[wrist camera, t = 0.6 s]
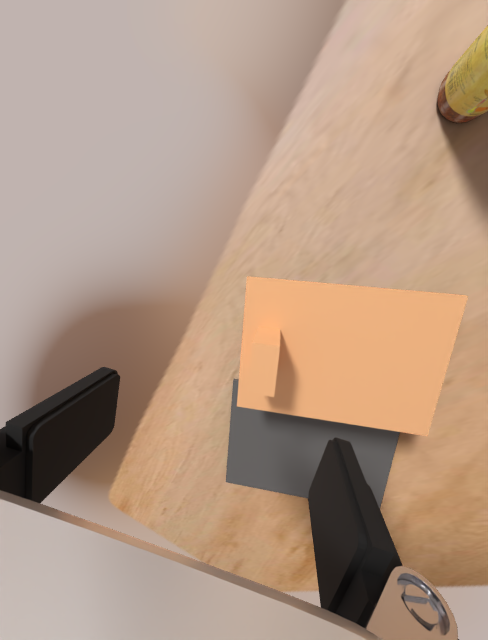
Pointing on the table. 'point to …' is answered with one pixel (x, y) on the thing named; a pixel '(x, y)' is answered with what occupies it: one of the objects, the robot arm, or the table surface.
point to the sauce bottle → (467, 84)
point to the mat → (299, 450)
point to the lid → (346, 352)
